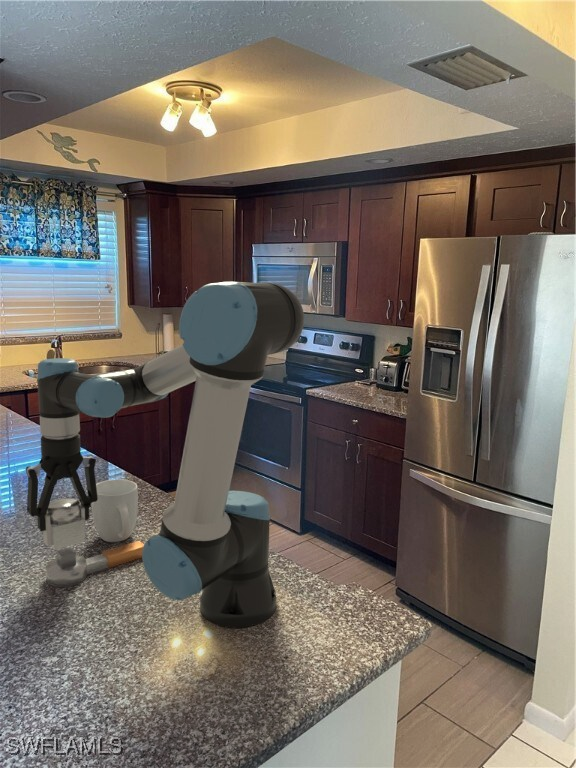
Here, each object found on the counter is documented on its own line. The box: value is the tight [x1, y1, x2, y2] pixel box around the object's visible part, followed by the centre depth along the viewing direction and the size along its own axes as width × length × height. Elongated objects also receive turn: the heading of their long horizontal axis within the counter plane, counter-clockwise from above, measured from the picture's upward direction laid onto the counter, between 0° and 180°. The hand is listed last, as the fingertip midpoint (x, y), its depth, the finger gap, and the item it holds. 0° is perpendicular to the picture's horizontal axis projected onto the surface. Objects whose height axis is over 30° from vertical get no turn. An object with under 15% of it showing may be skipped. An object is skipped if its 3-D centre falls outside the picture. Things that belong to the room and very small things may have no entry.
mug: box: [91, 478, 139, 543], centre depth 137 cm, size 15×11×13 cm
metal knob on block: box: [47, 498, 86, 551], centre depth 118 cm, size 6×6×8 cm
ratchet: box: [45, 540, 145, 588], centre depth 124 cm, size 8×22×6 cm, turn 130°
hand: (64, 538), depth 118 cm, fingers closed on metal knob on block, 6 cm apart
